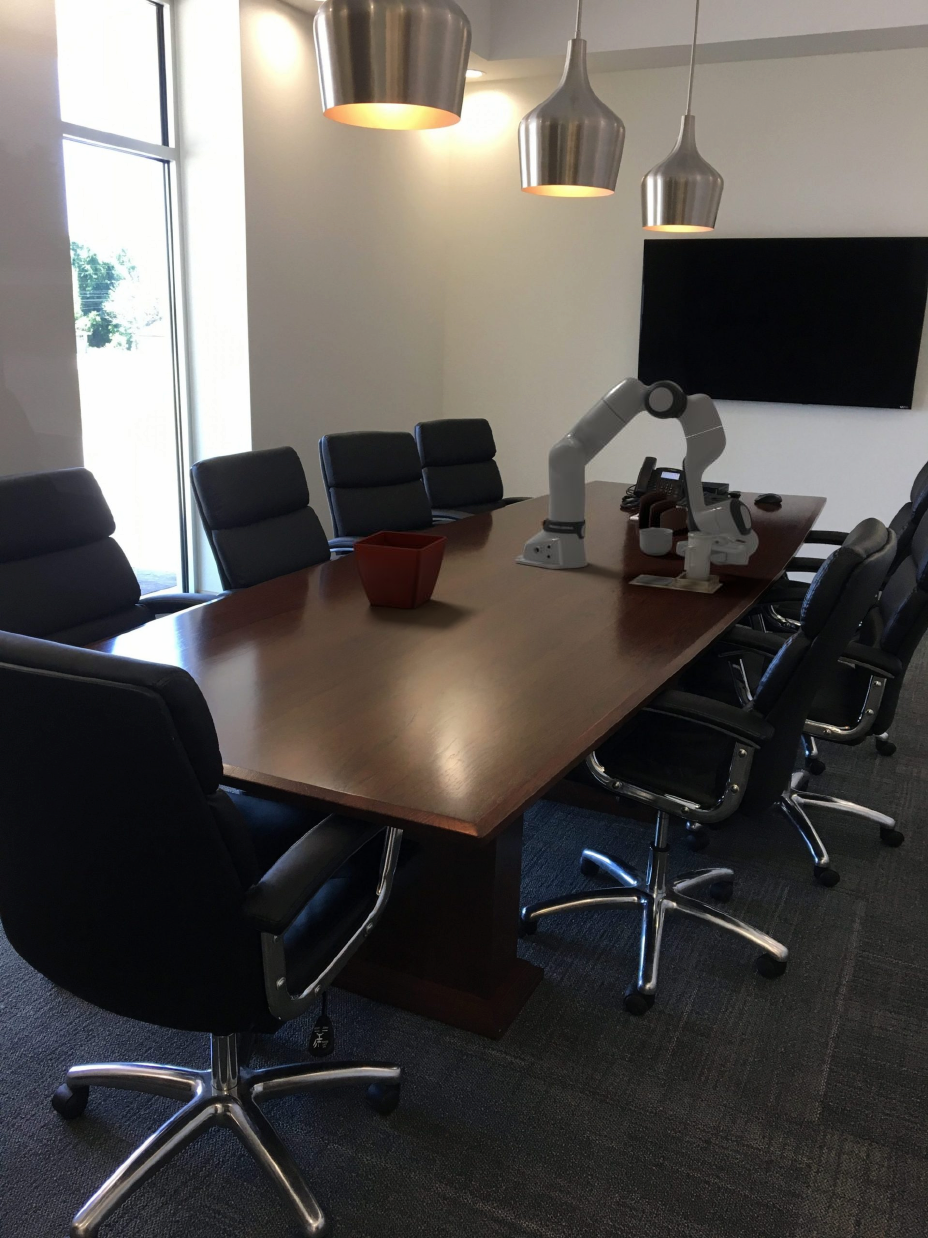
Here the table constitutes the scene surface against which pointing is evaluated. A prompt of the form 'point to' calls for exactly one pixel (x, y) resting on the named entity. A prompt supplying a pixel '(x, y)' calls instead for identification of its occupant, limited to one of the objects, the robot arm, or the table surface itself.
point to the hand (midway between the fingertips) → (697, 555)
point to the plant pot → (399, 567)
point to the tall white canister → (698, 556)
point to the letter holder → (660, 512)
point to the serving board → (679, 583)
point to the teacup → (655, 541)
